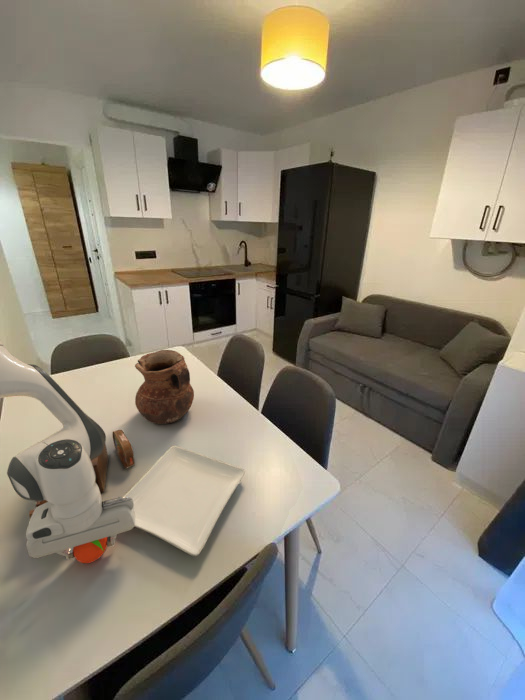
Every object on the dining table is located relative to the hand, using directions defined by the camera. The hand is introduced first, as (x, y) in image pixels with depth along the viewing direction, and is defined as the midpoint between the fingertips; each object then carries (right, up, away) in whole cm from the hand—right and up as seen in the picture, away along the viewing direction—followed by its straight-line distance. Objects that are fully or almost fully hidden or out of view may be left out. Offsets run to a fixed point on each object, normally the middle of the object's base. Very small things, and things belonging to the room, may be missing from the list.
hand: (91, 549), depth 67 cm
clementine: (0, -2, +1) cm, 3 cm away
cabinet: (-15, +7, +20) cm, 26 cm away
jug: (+1, +20, +51) cm, 55 cm away
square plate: (+17, +4, +16) cm, 23 cm away
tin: (-6, +11, +29) cm, 31 cm away
